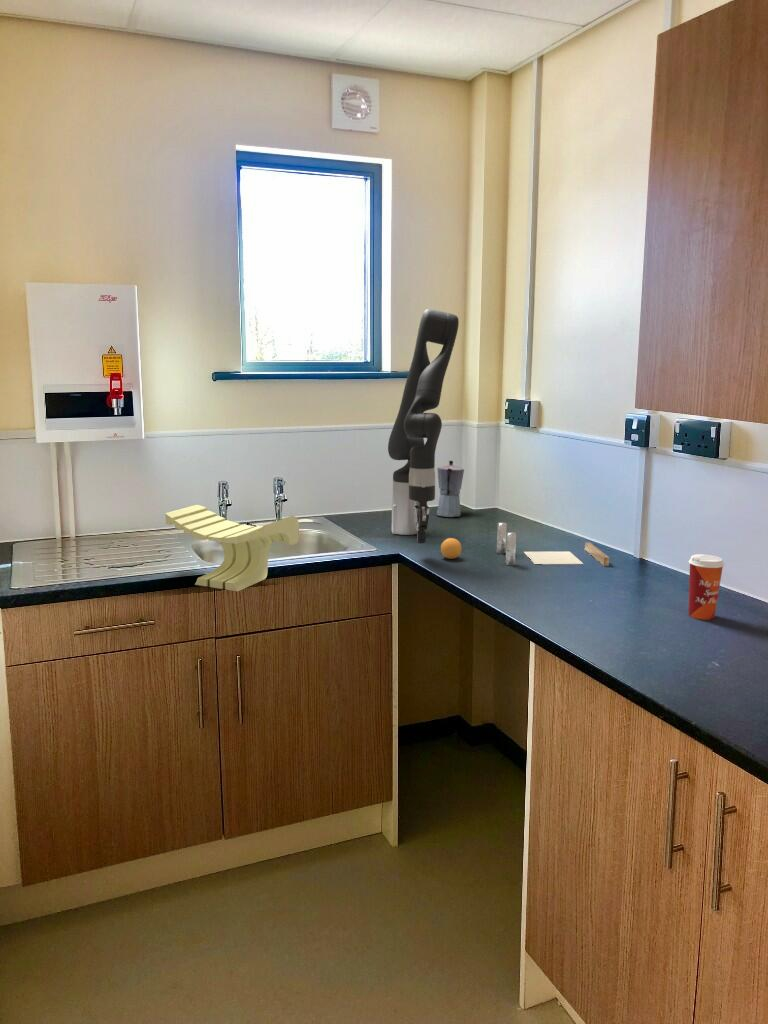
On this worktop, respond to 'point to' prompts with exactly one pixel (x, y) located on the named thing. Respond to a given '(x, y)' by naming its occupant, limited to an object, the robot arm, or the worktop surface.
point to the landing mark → (553, 558)
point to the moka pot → (449, 490)
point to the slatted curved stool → (234, 544)
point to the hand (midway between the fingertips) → (421, 542)
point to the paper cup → (704, 585)
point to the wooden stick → (597, 554)
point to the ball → (451, 548)
